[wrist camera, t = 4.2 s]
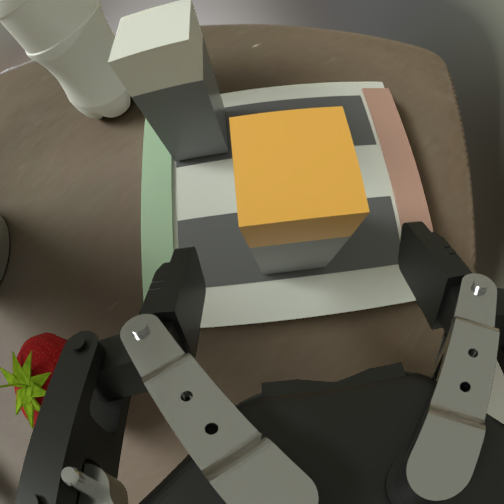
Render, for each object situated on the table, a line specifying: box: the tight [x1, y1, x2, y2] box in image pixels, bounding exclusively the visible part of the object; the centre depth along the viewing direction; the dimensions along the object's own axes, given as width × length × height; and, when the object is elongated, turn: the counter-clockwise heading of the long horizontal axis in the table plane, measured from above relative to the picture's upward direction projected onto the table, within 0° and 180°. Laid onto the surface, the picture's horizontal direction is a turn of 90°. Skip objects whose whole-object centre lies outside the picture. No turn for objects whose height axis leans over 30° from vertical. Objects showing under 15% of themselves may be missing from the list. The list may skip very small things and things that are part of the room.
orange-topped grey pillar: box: [229, 106, 370, 275], centre depth 15 cm, size 4×4×11 cm
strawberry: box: [0, 333, 68, 428], centre depth 17 cm, size 6×8×10 cm
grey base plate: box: [108, 0, 433, 328], centre depth 17 cm, size 20×18×13 cm
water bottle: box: [0, 0, 130, 119], centre depth 15 cm, size 7×7×25 cm
